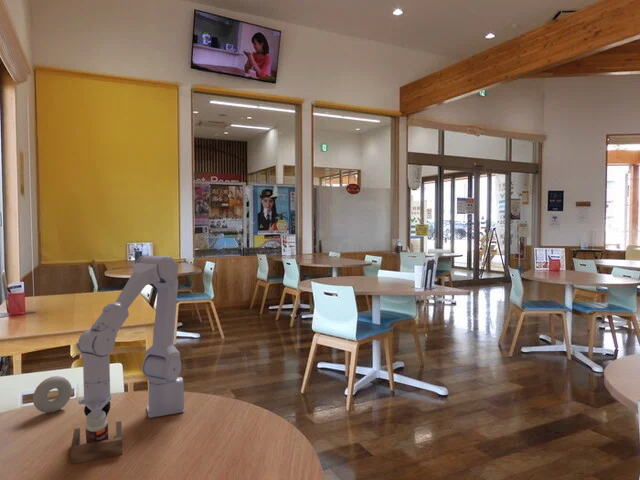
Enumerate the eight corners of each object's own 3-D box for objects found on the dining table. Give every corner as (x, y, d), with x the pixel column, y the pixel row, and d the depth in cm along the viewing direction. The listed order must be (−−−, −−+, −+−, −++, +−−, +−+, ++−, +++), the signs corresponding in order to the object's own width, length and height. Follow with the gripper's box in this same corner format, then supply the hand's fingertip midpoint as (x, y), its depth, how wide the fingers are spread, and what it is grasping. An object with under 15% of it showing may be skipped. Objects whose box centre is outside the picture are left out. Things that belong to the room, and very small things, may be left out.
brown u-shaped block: (121, 434, 114) (121, 421, 114) (122, 454, 105) (122, 439, 105) (74, 443, 110) (74, 428, 110) (71, 464, 100) (70, 448, 100)
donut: (36, 419, 123) (35, 383, 122) (31, 416, 125) (30, 380, 124) (74, 407, 131) (73, 373, 130) (69, 404, 133) (68, 370, 132)
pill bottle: (99, 454, 105) (97, 425, 103) (82, 448, 106) (79, 419, 104) (113, 440, 110) (112, 411, 107) (96, 434, 111) (94, 406, 108)
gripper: (80, 372, 114) (81, 425, 115) (75, 392, 101) (77, 452, 102) (110, 368, 117) (112, 420, 118) (110, 387, 104) (111, 445, 105)
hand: (98, 434), depth 110 cm, fingers closed, pressing on pill bottle
